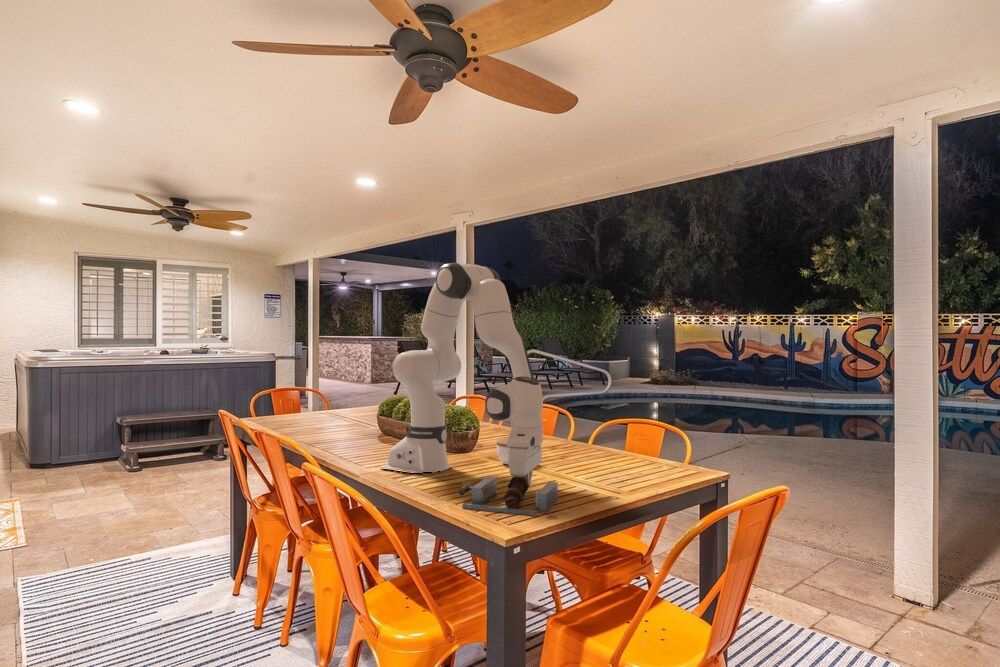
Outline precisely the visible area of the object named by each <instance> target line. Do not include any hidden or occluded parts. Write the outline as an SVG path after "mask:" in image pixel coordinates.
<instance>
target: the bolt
mask: <svg viewBox="0 0 1000 667" xmlns="http://www.w3.org/2000/svg"><path fill="white" fill-rule="evenodd" d="M529 487H530V485H528V483H527V481H526V479H525V478H524V477H514V476H512V478H511V479H510V480H509V483H508V485H507V490H506V492H505V494H504V496H503V500H504V505H505V508H515V509H516V507H517V508H518V507H519V506H520V504H521V502H522V500H523V499H524V496H525V494H526V493H527V492H528V489H529Z"/></svg>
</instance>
